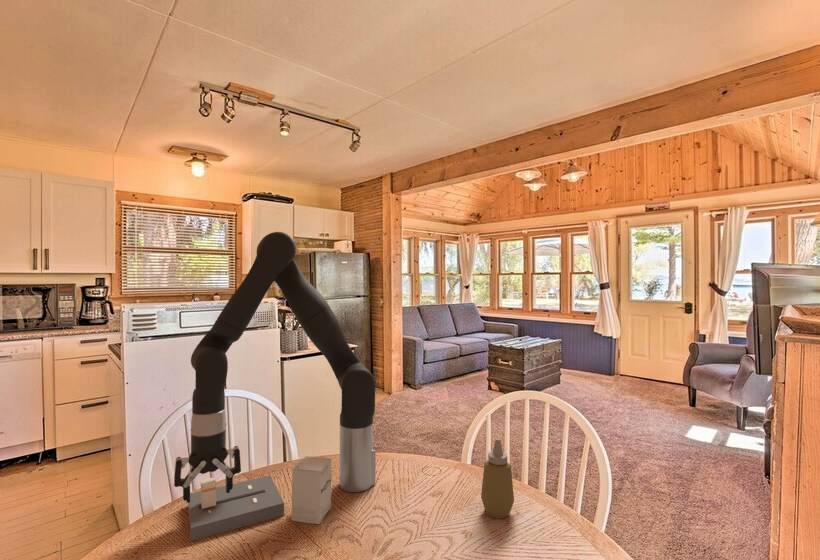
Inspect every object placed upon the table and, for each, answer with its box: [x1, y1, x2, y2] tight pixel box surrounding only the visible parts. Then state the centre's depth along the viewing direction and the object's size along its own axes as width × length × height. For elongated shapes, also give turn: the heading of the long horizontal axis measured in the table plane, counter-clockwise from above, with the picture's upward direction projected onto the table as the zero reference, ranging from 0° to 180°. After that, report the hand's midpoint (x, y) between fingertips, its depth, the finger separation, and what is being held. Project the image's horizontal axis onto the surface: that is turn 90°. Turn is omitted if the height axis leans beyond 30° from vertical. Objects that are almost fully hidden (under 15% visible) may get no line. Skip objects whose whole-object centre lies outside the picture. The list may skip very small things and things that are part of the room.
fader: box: [200, 477, 217, 509], centre depth 98 cm, size 3×4×5 cm
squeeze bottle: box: [480, 438, 515, 519], centre depth 101 cm, size 8×8×18 cm
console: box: [187, 475, 285, 542], centre depth 101 cm, size 20×16×3 cm
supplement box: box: [291, 455, 332, 525], centre depth 99 cm, size 7×7×13 cm
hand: (208, 496), depth 98 cm, fingers open, 8 cm apart
